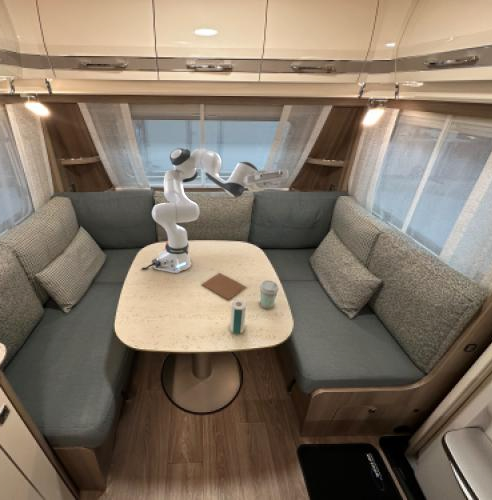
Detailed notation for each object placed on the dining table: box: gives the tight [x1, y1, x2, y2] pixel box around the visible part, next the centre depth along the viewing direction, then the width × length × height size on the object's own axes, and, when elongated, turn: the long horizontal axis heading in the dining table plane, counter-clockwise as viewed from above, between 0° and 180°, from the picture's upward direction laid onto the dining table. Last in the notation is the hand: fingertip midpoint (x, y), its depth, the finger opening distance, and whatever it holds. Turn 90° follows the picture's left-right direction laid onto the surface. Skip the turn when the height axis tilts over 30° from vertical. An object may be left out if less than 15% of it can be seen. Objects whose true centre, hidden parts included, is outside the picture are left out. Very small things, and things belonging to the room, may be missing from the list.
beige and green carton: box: [229, 299, 247, 335], centre depth 113 cm, size 6×6×14 cm
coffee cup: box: [259, 280, 280, 310], centre depth 127 cm, size 9×8×12 cm
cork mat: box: [201, 272, 246, 301], centre depth 142 cm, size 18×14×1 cm
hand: (271, 174), depth 116 cm, fingers open, 8 cm apart
